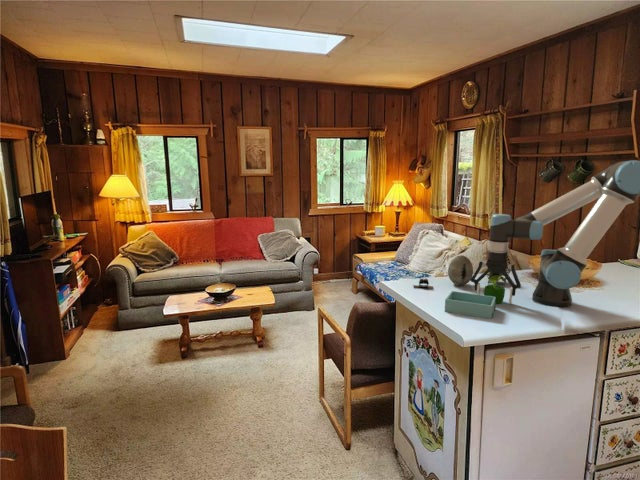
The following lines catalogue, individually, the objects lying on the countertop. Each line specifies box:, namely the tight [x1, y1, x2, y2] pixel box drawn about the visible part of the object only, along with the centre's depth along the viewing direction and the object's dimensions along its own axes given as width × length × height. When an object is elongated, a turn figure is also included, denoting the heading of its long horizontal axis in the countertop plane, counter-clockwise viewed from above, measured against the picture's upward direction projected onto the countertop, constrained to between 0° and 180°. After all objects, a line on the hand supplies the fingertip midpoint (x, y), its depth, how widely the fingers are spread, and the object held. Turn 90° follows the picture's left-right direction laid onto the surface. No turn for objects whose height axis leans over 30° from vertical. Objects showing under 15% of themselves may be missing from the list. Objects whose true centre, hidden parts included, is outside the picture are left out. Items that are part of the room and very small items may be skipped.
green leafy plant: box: [486, 268, 512, 286], centre depth 208 cm, size 11×11×12 cm
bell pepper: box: [483, 280, 506, 305], centre depth 176 cm, size 8×8×10 cm
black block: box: [412, 278, 435, 290], centre depth 201 cm, size 12×7×5 cm, turn 82°
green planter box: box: [444, 290, 496, 320], centre depth 165 cm, size 18×13×5 cm
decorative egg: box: [447, 254, 474, 286], centre depth 204 cm, size 12×12×15 cm
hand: (493, 300), depth 176 cm, fingers open, 12 cm apart
